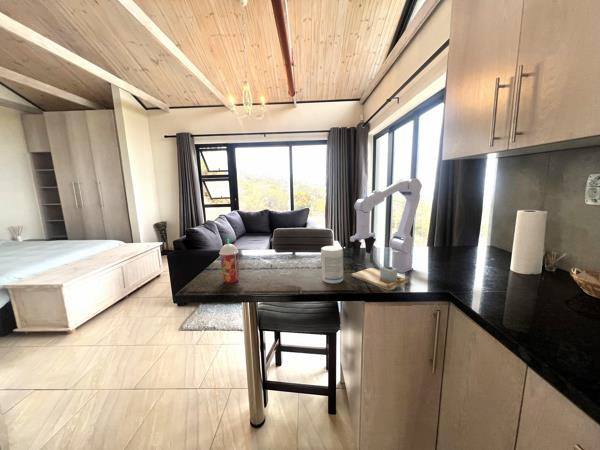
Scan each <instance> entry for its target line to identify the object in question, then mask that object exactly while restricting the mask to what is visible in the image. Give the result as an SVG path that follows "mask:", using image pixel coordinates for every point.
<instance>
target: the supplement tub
mask: <svg viewBox="0 0 600 450" xmlns="http://www.w3.org/2000/svg"><path fill="white" fill-rule="evenodd" d="M343 249H344V248H343V247H342V246H338V245H325V246H322V247H321V248H320V252H321V253H320V258H321V263H320V265H321V280H322V281H323V282H325V283H328V284H339V283H341V282H342V281H343V280H344V251H343Z"/></svg>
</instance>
